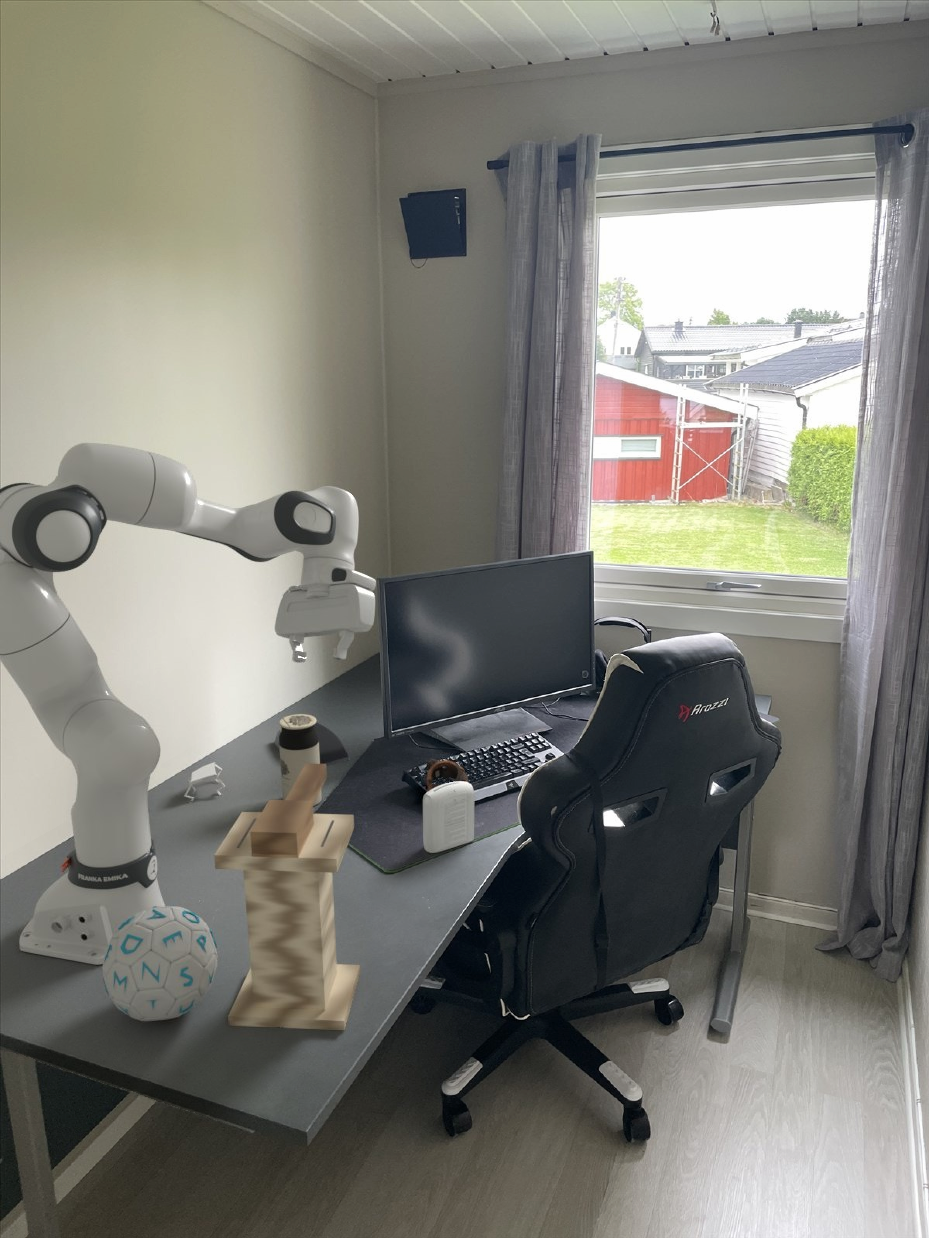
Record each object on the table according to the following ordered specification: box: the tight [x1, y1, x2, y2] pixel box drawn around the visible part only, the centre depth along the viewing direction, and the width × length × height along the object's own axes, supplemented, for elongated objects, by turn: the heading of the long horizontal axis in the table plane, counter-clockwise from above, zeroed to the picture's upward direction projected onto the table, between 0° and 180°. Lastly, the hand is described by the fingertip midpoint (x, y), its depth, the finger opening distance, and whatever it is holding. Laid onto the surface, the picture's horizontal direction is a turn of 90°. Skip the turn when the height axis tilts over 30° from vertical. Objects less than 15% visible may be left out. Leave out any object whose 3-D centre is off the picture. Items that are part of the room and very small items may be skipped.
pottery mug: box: [426, 758, 470, 793], centre depth 192 cm, size 12×10×8 cm
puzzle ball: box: [102, 904, 219, 1022], centre depth 125 cm, size 15×15×15 cm
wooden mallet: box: [250, 763, 328, 858], centre depth 127 cm, size 6×24×4 cm, turn 176°
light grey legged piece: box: [183, 761, 226, 802], centre depth 193 cm, size 12×8×5 cm
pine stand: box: [213, 811, 361, 1031], centre depth 126 cm, size 16×12×26 cm
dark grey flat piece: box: [274, 722, 351, 767], centre depth 213 cm, size 13×19×4 cm
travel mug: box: [278, 713, 323, 807], centre depth 186 cm, size 8×8×18 cm
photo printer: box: [422, 781, 475, 854], centre depth 170 cm, size 10×4×12 cm, turn 123°
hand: (318, 660), depth 152 cm, fingers open, 8 cm apart
